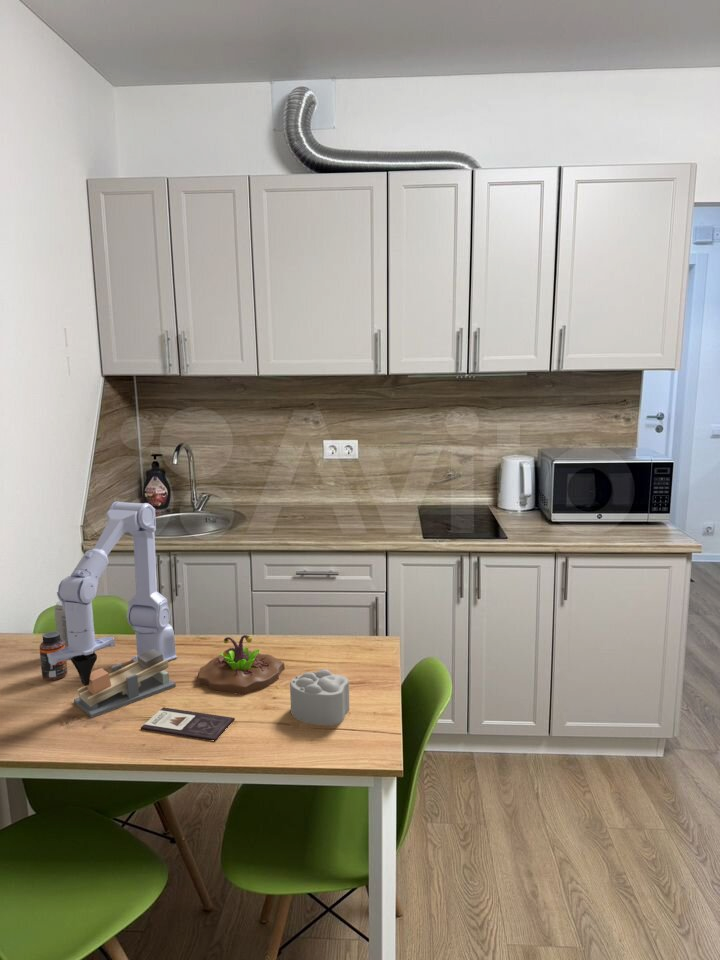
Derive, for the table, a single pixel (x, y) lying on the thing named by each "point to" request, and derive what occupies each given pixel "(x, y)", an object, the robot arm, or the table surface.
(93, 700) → the beam
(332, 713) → the lumpy-topped squat cylinder
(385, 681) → the table surface
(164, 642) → the robot arm
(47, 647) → the supplement bottle
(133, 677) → the stand
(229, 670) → the plant
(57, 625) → the energy drink can
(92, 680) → the block
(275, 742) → the table surface
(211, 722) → the chocolate bar
